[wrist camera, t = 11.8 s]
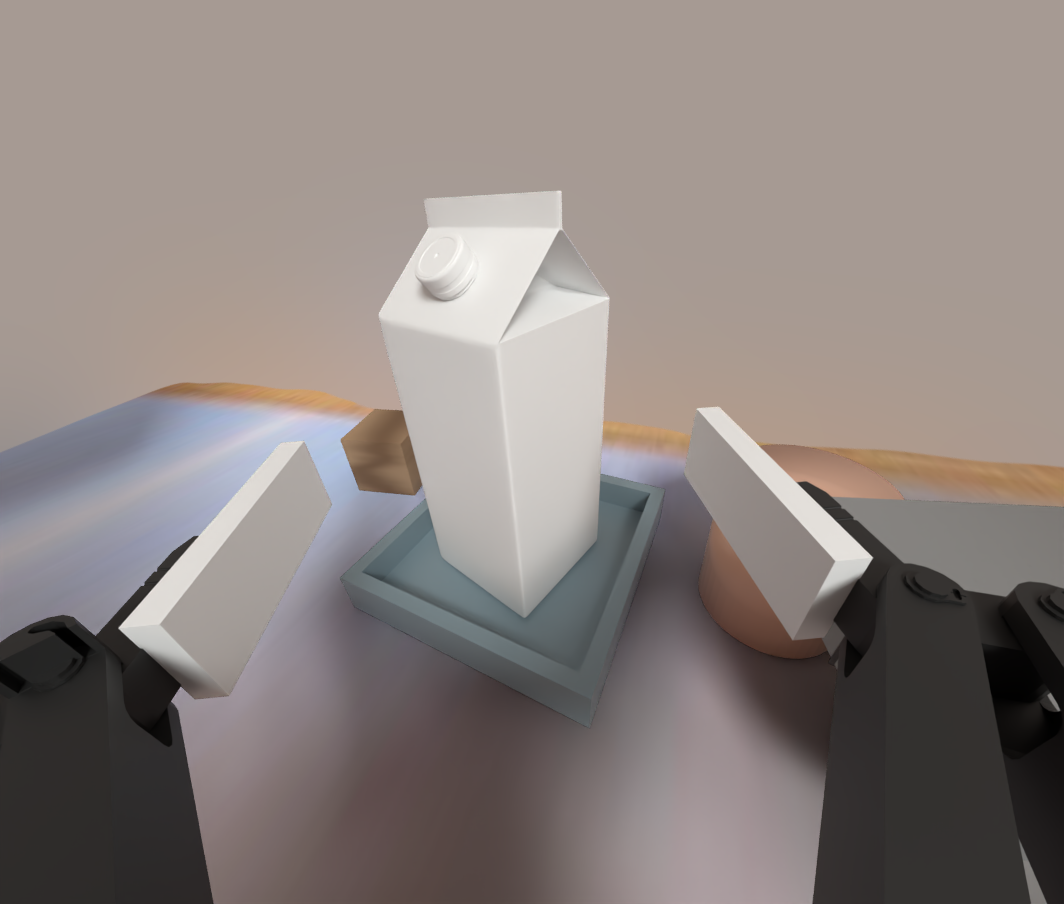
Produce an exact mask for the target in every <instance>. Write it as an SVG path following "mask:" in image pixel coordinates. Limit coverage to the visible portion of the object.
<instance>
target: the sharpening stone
mask: <svg viewBox="0 0 1064 904" xmlns="http://www.w3.org/2000/svg"><path fill="white" fill-rule="evenodd" d="M832 498H833V499H834V500H836V501H837V502H838V503H839V504H840V505H841V508H842V509H845V510H846V511H848V512H849V513H850V514H851V515H852V516H853V517H854V520H857V521H858V522H860V523H861V524H862V525H863V526H864V527H865V528H866V529H867V530H868V531H869V532H870V533H872V534H873V535H874V536H875V537H876V538H877V539H878V540H879V541H880V542H881V543H882V544H884V545H885V546H886V547H887V548H888V549H889V550H890V551H891V552H892V553H893V554H894V555H896V556H897V557H898V558H899V559H900V560H901V561H902V562H903V563H912V564H916V565H920V566H924V567H928V568H930V569H932V570H935V571H937V572H939V573H942V574H944V575H945V576H947V577H948V578H950V579H951V580H953V581H955V582H956V583H958V584H959V585H960V586H961V587H962V588H963V589H964V590H968V591H974V592H980V593H986V594H993V595H999V596H1005V597H1006V596H1007V595H1008V594H1009V593H1010V592H1011V591H1012V590H1013V589H1014V588H1015V587H1016V586H1017V585H1018V584H1020V583H1024V582H1028V581H1031V582H1040V583H1047V584H1050V585H1053V586H1057V587H1060V588H1064V507H1054V506H1031V505H1009V504H986V503H964V502H941V501H919V500H896V499H874V498H851V497H832ZM844 636H845V635H844V634H843V632H842V631H841V630H840V629H839V627H838V626H837V625H836V623H835V622H833V624H832V626H831V627H830V629H829V631H828V632H827V634H826V635H825V637H823V638H822V640H823V642H824V644H825V646H826V648H827V650H828V652H829V654H830V656H832V654H833V653H834V651H835V650H836V648H837V647H838V645H839V644H840V642H841V640H842V639H843V637H844ZM834 665H835V667H836V669H837V667H838V660H837V661H836V663H835V664H834ZM1048 697H1049V699H1050V700H1051V702H1052V704H1053V705H1054V706H1055V708H1056V709H1057V710H1058V711H1060V709H1059V707H1058V704H1057V702H1056V701H1055V699H1054V698H1053V696H1052V694H1051V693H1050V694H1048ZM1019 843H1020V848H1021V853H1022V858H1023V864H1024V869H1025V874H1026V879H1027V885H1028V890H1029V895H1030V900H1031V904H1047V902H1046V900H1045V898H1044V895H1043V893H1042V891H1041V889H1040V886H1039V884H1038V882H1037V879H1036V877H1035V875H1034V872H1033V870H1032V868H1031V865H1030V863H1029V861H1028V859H1027V856H1026V854H1025V852H1024V849H1023V847H1022V845H1021V842H1020V840H1019Z"/></svg>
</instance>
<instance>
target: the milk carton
mask: <svg viewBox="0 0 1064 904" xmlns="http://www.w3.org/2000/svg"><path fill="white" fill-rule="evenodd" d="M424 205H425V209H426V216H427V222H428V227H429V228H428V230H427V231H426V233H425V235H424V236H423V238H422V240H421V242H420V243H419V245H418V247H417V249H416V250H415V252H414V254H413V255H412V257H411V259H410V260H409V262H408V264H407V266H406V267H405V269H404V271H403V272H402V274H401V276H400V278H399V279H398V281H397V283H396V285H395V286H394V288H393V290H392V292H391V293H390V295H389V297H388V298H387V300H386V302H385V304H384V305H383V307H382V309H381V311H380V313H379V321H380V324H381V329H382V333H383V338H384V341H385V345H386V349H387V353H388V357H389V361H390V364H391V368H392V372H393V376H394V380H395V383H396V387H397V391H398V394H399V398H400V402H401V406H402V409H403V414H404V417H405V421H406V425H407V429H408V433H409V436H410V440H411V444H412V448H413V452H414V455H415V459H416V463H417V467H418V470H419V474H420V478H421V482H422V486H423V489H424V493H425V497H426V501H427V504H428V508H429V512H430V516H431V520H432V523H433V527H434V531H435V535H436V539H437V542H438V546H439V550H440V554H441V556H442V558H443V559H444V560H446V561H447V562H448V563H449V564H451V565H452V566H454V567H455V568H456V569H458V570H459V571H460V572H462V573H463V574H464V575H466V576H467V577H468V578H470V579H471V580H472V581H474V582H475V583H477V584H478V585H479V586H481V587H482V588H483V589H485V590H486V591H487V592H489V593H490V594H491V595H493V596H494V597H495V598H497V599H498V600H500V601H501V602H502V603H504V604H505V605H506V606H508V607H509V608H510V609H512V610H513V611H514V612H516V613H517V614H519V615H520V616H522V617H524V618H526V617H527V616H528V615H529V614H530V613H531V612H532V611H533V609H534V608H535V607H536V606H537V605H538V604H539V603H540V602H541V601H542V600H543V599H544V597H545V596H546V595H547V594H548V593H549V592H550V591H551V590H552V589H553V588H554V587H555V585H556V584H557V583H558V582H559V581H560V580H561V579H562V578H563V577H564V576H565V574H566V573H567V572H568V571H569V570H570V569H571V568H572V567H573V566H574V565H575V564H576V562H577V561H578V560H579V559H580V558H581V557H582V556H583V555H584V554H585V553H586V552H587V550H588V549H589V548H590V547H591V546H592V545H593V544H594V543H595V542H596V540H597V531H598V512H599V492H600V472H601V453H602V433H603V414H604V394H605V375H606V355H607V335H608V315H609V299H610V298H609V296H608V295H607V293H606V292H605V290H604V289H603V287H602V286H601V284H600V283H599V281H598V280H597V279H596V277H595V276H594V274H593V273H592V271H591V270H590V268H589V267H588V265H587V264H586V263H585V261H584V260H583V258H582V257H581V255H580V254H579V252H578V251H577V249H576V248H575V246H574V245H573V244H572V242H571V241H570V239H569V238H568V236H567V235H566V233H565V232H564V230H563V229H562V193H561V191H547V192H531V193H515V194H497V195H482V196H465V197H449V198H433V199H424Z"/></svg>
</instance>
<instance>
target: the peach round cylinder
mask: <svg viewBox="0 0 1064 904" xmlns="http://www.w3.org/2000/svg"><path fill="white" fill-rule="evenodd" d="M759 447H760V448H761V449H763V450H764V451H765V452H766V453H767V454H768V455H769V456H770V457H771V458H772V459H773V460H774V461H775V462H776V463H777V464H778V465H779V466H780V467H781V468H782V469H783V470H784V471H785V472H786V473H787V474H788V475H789V476H790V477H791V478H792V479H793V480H794V481H795V482H803V481H807V482H809V483H811V484H813V485H814V486H816V487H818V488H820V489H822V490H823V491H825V492H827V493H828V494H829V495H830V496H831V497H851V498H874V499H896V500H905V499H904V498H903V496H902V495H901V494H900V492H899V491H898V490H897V489H896V488H895V487H894V486H893V485H892V484H891V483H889V482H888V481H887V480H886V479H885V478H883V477H882V476H880V475H879V474H877V473H876V472H874V471H872V470H871V469H869V468H867V467H865V466H863V465H861V464H859V463H857V462H855V461H852V460H850V459H848V458H845V457H842V456H839V455H837V454H833V453H830V452H827V451H823V450H819V449H814V448H809V447H803V446H795V445H763V446H759ZM698 587H699V593H700V597H701V599H702V602H703V604H704V606H705V608H706V609H707V611H708V612H709V614H710V615H711V617H712V618H713V619H714V620H715V621H716V622H717V624H718V625H719V626H721V627H722V628H723V629H724V630H725V631H726V632H727V633H729V634H730V635H731V636H732V637H734V638H735V639H737V640H739V641H740V642H742V643H743V644H745V645H747V646H749V647H751V648H753V649H755V650H758V651H760V652H763V653H766V654H769V655H772V656H777V657H782V658H791V659H804V658H810V657H814V656H817V655H820V654H822V653H824V652H826V651H827V648H826V646H825V644H824V642H823V640H822V638H813V639H803V640H792V639H791V637H790V636H789V634H788V633H787V631H786V629H785V628H784V626H783V625H782V623H781V622H780V620H779V619H778V617H777V616H776V614H775V613H774V611H773V610H772V608H771V607H770V605H769V603H768V602H767V600H766V599H765V597H764V596H763V594H762V593H761V591H760V590H759V588H758V587H757V585H756V584H755V582H754V581H753V579H752V577H751V576H750V574H749V573H748V571H747V570H746V568H745V567H744V565H743V564H742V562H741V561H740V559H739V558H738V556H737V555H736V553H735V551H734V550H733V548H732V547H731V545H730V544H729V542H728V541H727V539H726V538H725V536H724V535H723V533H722V532H721V530H720V529H719V527H718V525H717V524H716V522H715V521H714V519H712V523H711V528H710V532H709V536H708V540H707V545H706V549H705V553H704V557H703V562H702V566H701V570H700V574H699V580H698Z"/></svg>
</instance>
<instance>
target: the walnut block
mask: <svg viewBox="0 0 1064 904" xmlns="http://www.w3.org/2000/svg"><path fill="white" fill-rule="evenodd" d="M341 443H342V445H343V448H344V451H345V453H346V456H347V459H348V461H349V464H350V467H351V469H352V472H353V474H354V477H355V480H356V482H357V485H358V488H359V490H363V491H373V492H384V493H394V494H404V495H416V493H417V492H418V490H419V489H420V487H421V486H422V482H421V478H420V474H419V470H418V467H417V463H416V459H415V455H414V452H413V448H412V444H411V440H410V436H409V433H408V429H407V425H406V421H405V417H404V414H403V411H399V410H380V409H374V410H373V411H372V412H371V413H370V414H369V415H368V416H367V417H365V418H364V419H363V420H362V421H361V422H360V423H359V424H358V425H356V426H355V427H354V428H353V429H352V430H351V431H350V432H349V433H347V434H346V435H345V436H344V437H343V438H342V439H341Z"/></svg>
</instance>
